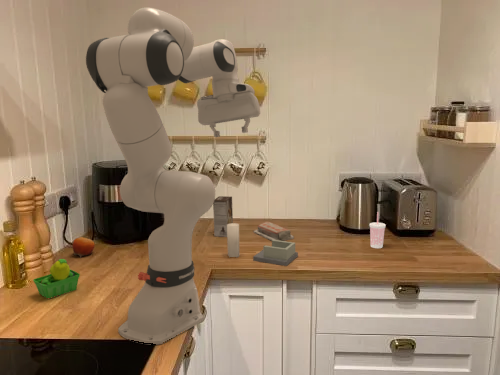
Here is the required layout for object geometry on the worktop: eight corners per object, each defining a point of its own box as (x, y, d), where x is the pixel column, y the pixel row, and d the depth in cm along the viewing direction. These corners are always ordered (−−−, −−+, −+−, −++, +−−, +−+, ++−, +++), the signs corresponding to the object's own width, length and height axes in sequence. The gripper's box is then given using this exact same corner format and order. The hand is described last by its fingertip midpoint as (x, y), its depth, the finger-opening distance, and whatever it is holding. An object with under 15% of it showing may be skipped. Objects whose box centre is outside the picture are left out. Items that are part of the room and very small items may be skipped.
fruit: (63, 254, 159) (71, 233, 161) (79, 258, 165) (86, 239, 168) (78, 257, 155) (86, 236, 157) (94, 261, 162) (101, 241, 164)
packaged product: (294, 228, 177) (275, 232, 172) (294, 239, 178) (275, 243, 173) (271, 219, 192) (252, 222, 187) (271, 229, 193) (252, 233, 188)
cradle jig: (286, 266, 147) (286, 250, 146) (253, 260, 153) (253, 245, 152) (297, 256, 157) (297, 242, 156) (266, 251, 162) (266, 237, 161)
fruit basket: (70, 283, 135) (66, 249, 133) (84, 290, 130) (81, 255, 128) (33, 295, 127) (29, 259, 125) (47, 303, 121) (43, 266, 119)
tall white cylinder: (235, 258, 155) (235, 226, 153) (225, 256, 157) (224, 225, 155) (241, 254, 159) (241, 224, 157) (231, 253, 161) (230, 222, 159)
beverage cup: (382, 244, 169) (384, 210, 166) (386, 249, 163) (387, 213, 160) (367, 243, 169) (368, 209, 167) (370, 248, 163) (371, 213, 161)
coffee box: (219, 230, 192) (218, 195, 189) (233, 231, 190) (232, 196, 187) (213, 236, 183) (212, 200, 180) (228, 237, 181) (227, 200, 178)
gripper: (192, 95, 135) (197, 138, 135) (254, 84, 130) (258, 128, 129) (200, 99, 141) (204, 140, 141) (259, 89, 136) (263, 131, 135)
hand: (230, 134), depth 135 cm, fingers open, 8 cm apart
